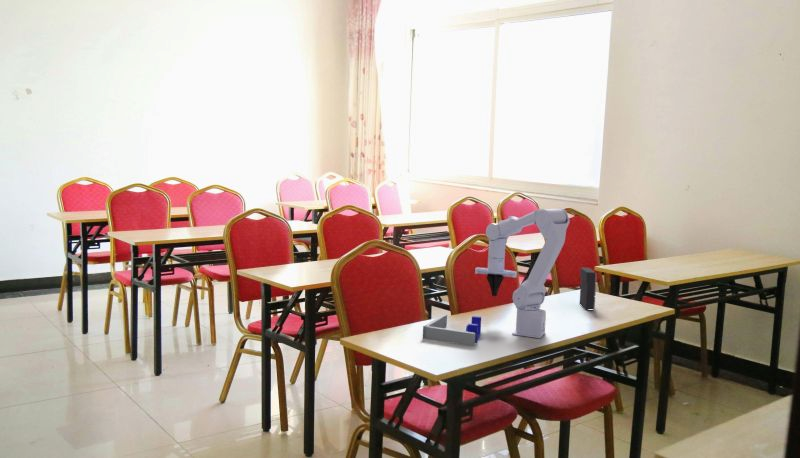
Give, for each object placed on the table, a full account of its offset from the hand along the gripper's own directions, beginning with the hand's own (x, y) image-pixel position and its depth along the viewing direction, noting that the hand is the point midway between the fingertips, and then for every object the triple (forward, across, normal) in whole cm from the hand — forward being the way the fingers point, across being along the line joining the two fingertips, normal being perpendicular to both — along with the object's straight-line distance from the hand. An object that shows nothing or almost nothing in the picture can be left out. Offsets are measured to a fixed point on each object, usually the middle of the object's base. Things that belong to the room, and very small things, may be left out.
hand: (494, 295), depth 257 cm
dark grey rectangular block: (+10, -25, -44) cm, 52 cm away
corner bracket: (+10, +6, +22) cm, 25 cm away
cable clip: (+10, +1, +22) cm, 24 cm away
